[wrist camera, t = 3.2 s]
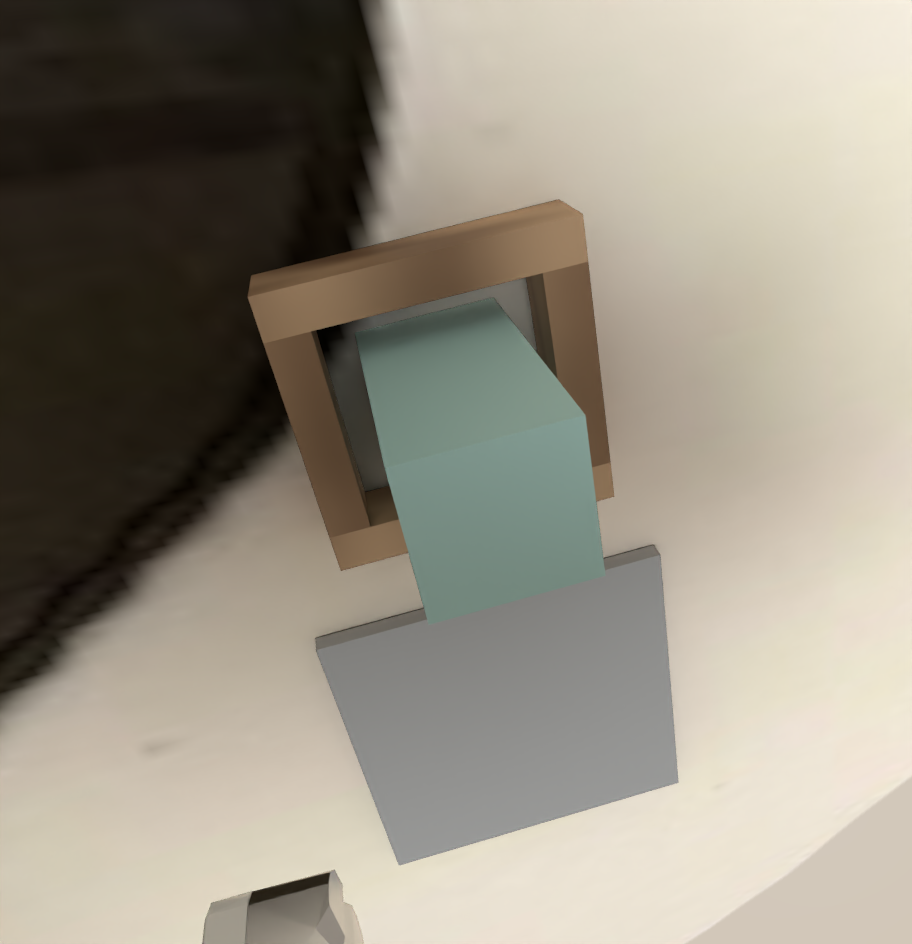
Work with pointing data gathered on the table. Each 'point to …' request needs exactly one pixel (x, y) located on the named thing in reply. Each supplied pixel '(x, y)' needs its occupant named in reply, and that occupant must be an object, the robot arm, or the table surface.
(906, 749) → the table surface
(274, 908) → the robot arm
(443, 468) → the teal block
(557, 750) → the mat
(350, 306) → the pocket
